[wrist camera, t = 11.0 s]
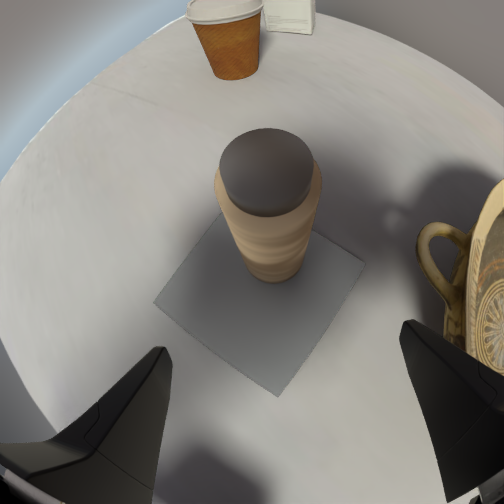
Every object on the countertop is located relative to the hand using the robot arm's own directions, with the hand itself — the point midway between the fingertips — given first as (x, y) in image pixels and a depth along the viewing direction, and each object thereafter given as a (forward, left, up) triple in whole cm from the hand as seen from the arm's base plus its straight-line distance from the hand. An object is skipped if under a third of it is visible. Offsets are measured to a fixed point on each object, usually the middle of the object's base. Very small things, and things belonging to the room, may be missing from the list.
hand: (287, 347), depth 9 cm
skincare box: (+43, +25, -13) cm, 51 cm away
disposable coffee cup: (+26, +24, -13) cm, 38 cm away
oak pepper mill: (+6, +5, -12) cm, 14 cm away
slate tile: (+3, +4, -13) cm, 14 cm away
